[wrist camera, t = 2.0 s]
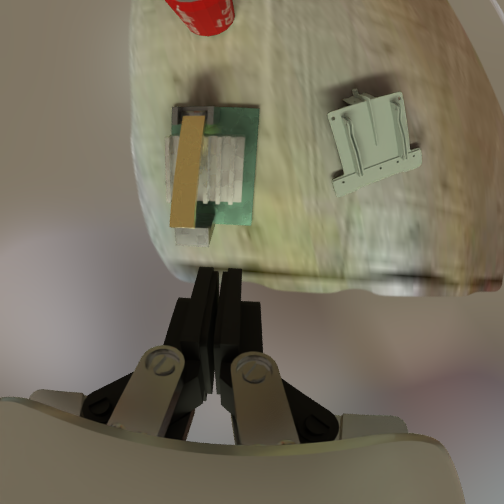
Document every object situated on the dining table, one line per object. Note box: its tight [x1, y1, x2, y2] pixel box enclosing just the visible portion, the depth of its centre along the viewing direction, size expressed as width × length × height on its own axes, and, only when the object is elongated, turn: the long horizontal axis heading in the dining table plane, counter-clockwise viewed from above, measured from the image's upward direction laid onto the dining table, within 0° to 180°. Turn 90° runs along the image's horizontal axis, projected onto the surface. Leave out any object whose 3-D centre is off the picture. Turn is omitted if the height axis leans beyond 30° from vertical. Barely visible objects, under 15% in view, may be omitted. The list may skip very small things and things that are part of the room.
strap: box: [170, 111, 208, 229], centre depth 26 cm, size 13×3×1 cm, turn 177°
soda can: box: [165, 0, 235, 36], centre depth 19 cm, size 6×6×12 cm
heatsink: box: [165, 106, 259, 247], centre depth 31 cm, size 16×11×7 cm
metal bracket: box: [327, 89, 422, 197], centre depth 32 cm, size 14×6×15 cm
